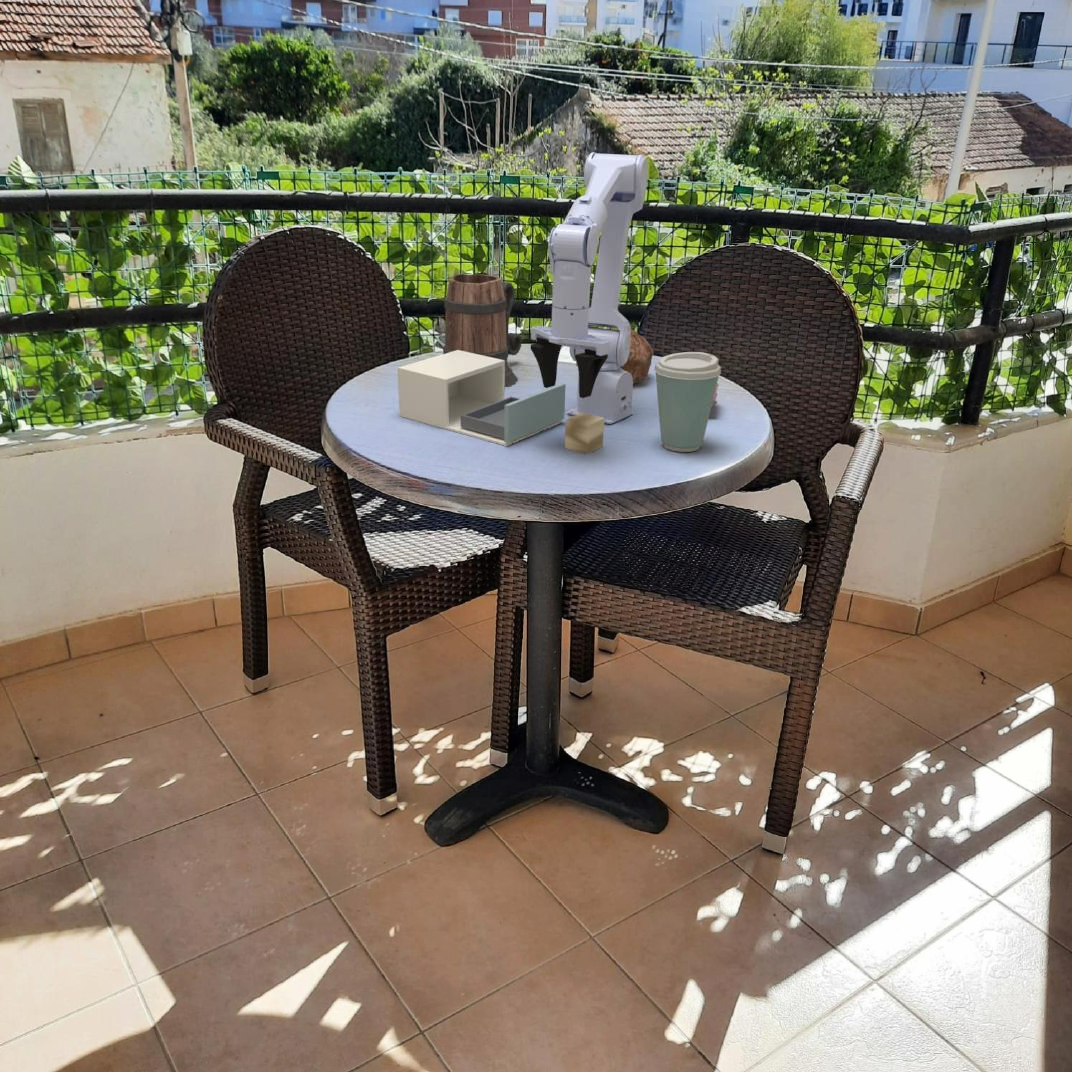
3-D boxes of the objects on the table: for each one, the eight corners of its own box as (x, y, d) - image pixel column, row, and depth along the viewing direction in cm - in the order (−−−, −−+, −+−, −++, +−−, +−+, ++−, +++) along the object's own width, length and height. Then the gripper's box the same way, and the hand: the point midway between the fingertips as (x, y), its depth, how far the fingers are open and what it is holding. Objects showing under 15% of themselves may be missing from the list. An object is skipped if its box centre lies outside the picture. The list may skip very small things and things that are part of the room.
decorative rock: (598, 369, 202) (601, 321, 198) (652, 372, 201) (656, 324, 197) (592, 387, 191) (594, 336, 186) (649, 390, 189) (653, 340, 185)
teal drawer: (564, 418, 170) (565, 384, 167) (508, 442, 158) (508, 405, 156) (514, 406, 176) (514, 372, 173) (456, 428, 164) (456, 392, 162)
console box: (562, 422, 171) (563, 373, 167) (506, 446, 159) (506, 394, 155) (458, 395, 183) (457, 349, 180) (399, 416, 172) (397, 367, 168)
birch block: (602, 447, 160) (604, 418, 158) (587, 454, 157) (588, 425, 154) (580, 441, 162) (581, 412, 160) (564, 448, 159) (565, 419, 157)
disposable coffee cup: (669, 460, 155) (677, 369, 148) (636, 439, 164) (642, 351, 157) (725, 452, 159) (735, 362, 152) (690, 431, 167) (698, 346, 161)
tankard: (486, 396, 183) (486, 290, 175) (416, 381, 191) (413, 278, 183) (550, 369, 201) (553, 271, 193) (484, 356, 209) (484, 262, 201)
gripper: (518, 301, 151) (517, 386, 156) (590, 317, 142) (585, 406, 148) (548, 296, 155) (546, 378, 161) (619, 310, 147) (614, 397, 152)
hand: (567, 391), depth 155 cm, fingers open, 7 cm apart
